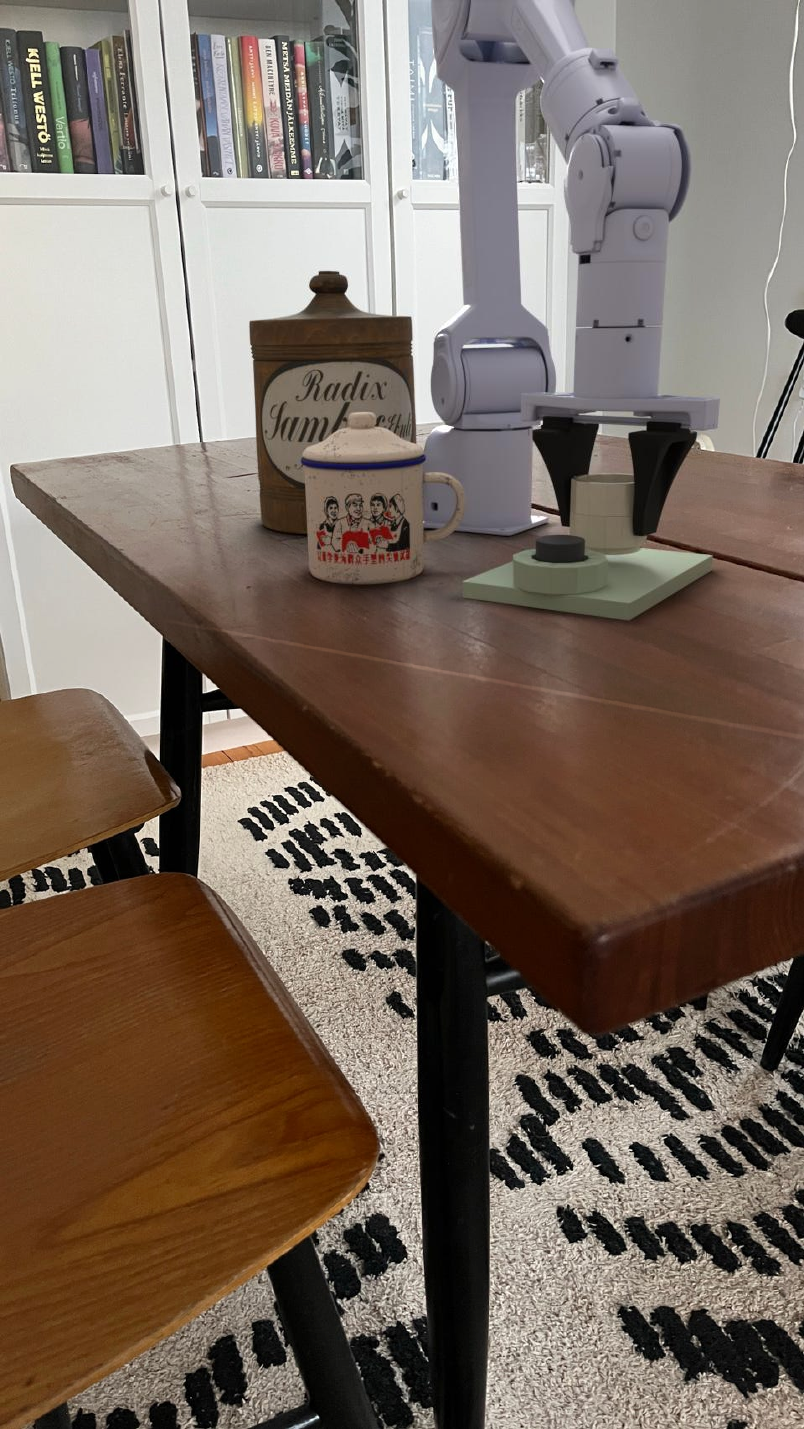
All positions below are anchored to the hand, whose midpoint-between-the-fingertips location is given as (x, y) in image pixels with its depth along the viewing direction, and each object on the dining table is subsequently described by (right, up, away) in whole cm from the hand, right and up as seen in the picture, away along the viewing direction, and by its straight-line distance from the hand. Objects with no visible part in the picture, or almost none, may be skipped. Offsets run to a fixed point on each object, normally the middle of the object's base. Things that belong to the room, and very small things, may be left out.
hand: (608, 529), depth 76 cm
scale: (-1, -4, -1) cm, 4 cm away
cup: (0, -1, +1) cm, 1 cm away
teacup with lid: (-16, -3, +4) cm, 17 cm away
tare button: (-4, -3, -6) cm, 8 cm away
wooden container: (-21, +5, +25) cm, 33 cm away
